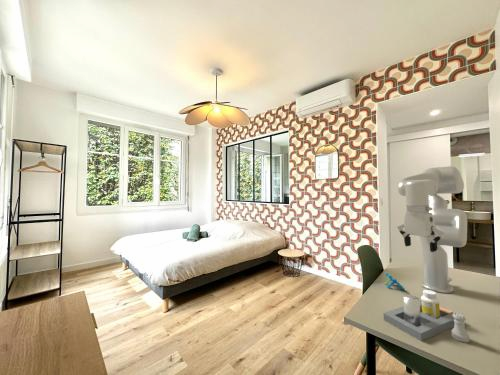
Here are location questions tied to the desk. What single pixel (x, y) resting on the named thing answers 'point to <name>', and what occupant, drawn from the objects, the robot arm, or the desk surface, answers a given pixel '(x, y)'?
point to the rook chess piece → (460, 328)
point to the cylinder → (412, 310)
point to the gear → (392, 281)
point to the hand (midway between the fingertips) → (420, 248)
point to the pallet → (430, 324)
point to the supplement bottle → (430, 304)
